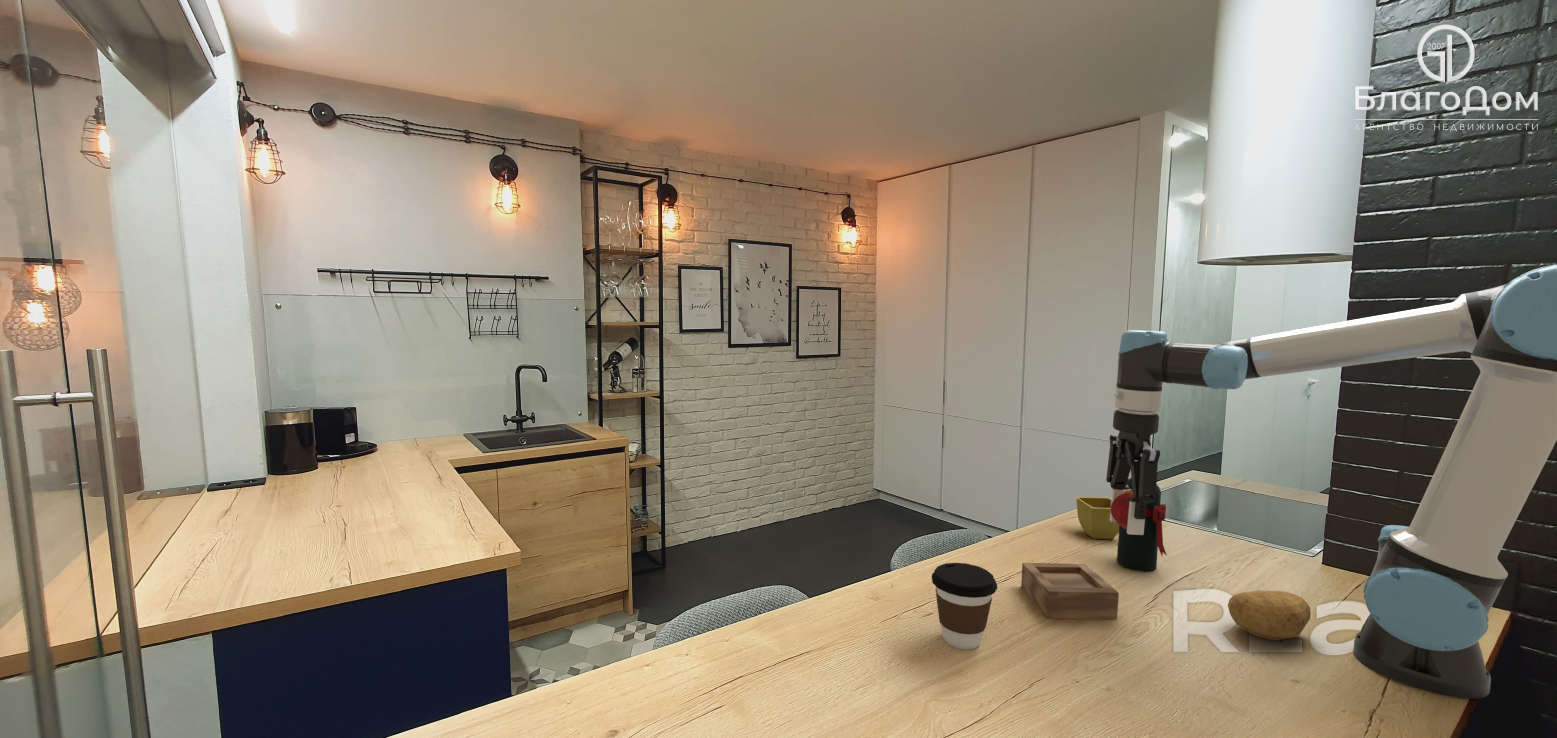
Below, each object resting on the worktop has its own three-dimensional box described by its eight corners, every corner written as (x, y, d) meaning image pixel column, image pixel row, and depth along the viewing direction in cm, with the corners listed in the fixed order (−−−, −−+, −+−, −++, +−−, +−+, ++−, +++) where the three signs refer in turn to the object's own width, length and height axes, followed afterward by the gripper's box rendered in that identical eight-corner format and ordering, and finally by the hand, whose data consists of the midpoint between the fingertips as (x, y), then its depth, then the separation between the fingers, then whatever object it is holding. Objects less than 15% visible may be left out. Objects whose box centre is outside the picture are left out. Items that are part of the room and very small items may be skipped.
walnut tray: (1117, 619, 112) (1118, 592, 112) (1047, 617, 113) (1048, 591, 112) (1083, 587, 125) (1085, 563, 125) (1021, 586, 126) (1022, 562, 125)
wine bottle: (1151, 578, 130) (1160, 443, 127) (1108, 560, 139) (1116, 434, 137) (1174, 572, 133) (1184, 440, 131) (1131, 555, 143) (1139, 431, 140)
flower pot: (1125, 542, 151) (1127, 507, 150) (1090, 542, 151) (1092, 507, 150) (1106, 530, 160) (1108, 497, 159) (1073, 529, 160) (1075, 496, 159)
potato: (1329, 646, 104) (1333, 602, 103) (1262, 654, 101) (1266, 609, 101) (1273, 618, 114) (1277, 577, 113) (1211, 624, 111) (1214, 583, 110)
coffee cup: (916, 631, 108) (918, 566, 106) (964, 619, 112) (967, 557, 111) (957, 663, 98) (960, 593, 96) (1008, 649, 102) (1011, 581, 101)
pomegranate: (1142, 536, 113) (1146, 495, 112) (1107, 529, 116) (1111, 489, 115) (1143, 528, 118) (1147, 488, 117) (1110, 521, 121) (1113, 483, 120)
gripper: (1093, 402, 124) (1084, 510, 126) (1143, 419, 105) (1132, 545, 108) (1130, 403, 124) (1120, 511, 126) (1187, 421, 105) (1174, 547, 107)
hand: (1125, 527), depth 117 cm, fingers closed on pomegranate, 6 cm apart
